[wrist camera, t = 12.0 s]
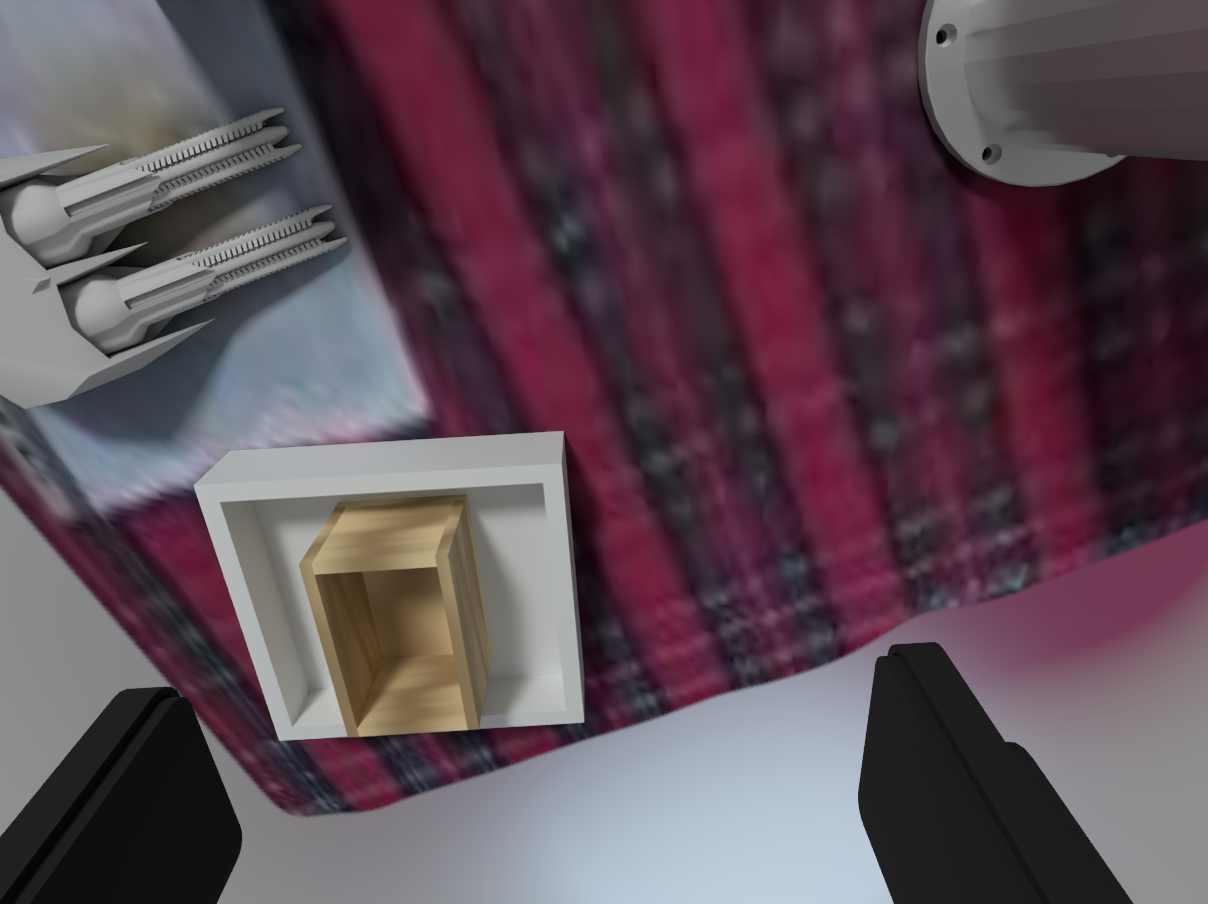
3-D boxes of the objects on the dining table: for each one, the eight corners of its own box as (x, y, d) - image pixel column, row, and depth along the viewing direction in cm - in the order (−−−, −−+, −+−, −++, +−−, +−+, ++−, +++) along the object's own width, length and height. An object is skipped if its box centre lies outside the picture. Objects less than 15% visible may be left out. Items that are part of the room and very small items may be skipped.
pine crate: (466, 494, 39) (447, 555, 33) (492, 652, 44) (479, 729, 38) (338, 502, 39) (298, 564, 33) (377, 660, 44) (347, 737, 38)
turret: (374, 271, 37) (362, 285, 33) (13, 413, 37) (-47, 447, 32) (275, 66, 33) (246, 52, 29) (-133, 223, 33) (-225, 233, 28)
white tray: (563, 431, 39) (561, 463, 35) (584, 674, 46) (584, 722, 42) (230, 450, 39) (193, 485, 35) (303, 691, 46) (279, 740, 42)
